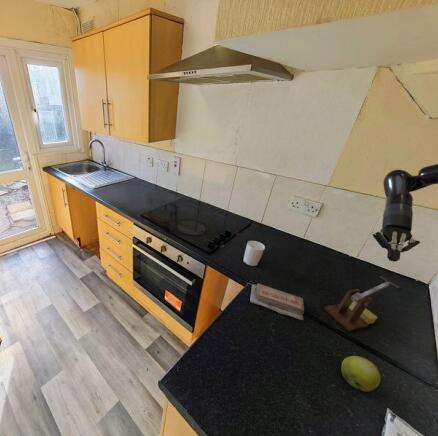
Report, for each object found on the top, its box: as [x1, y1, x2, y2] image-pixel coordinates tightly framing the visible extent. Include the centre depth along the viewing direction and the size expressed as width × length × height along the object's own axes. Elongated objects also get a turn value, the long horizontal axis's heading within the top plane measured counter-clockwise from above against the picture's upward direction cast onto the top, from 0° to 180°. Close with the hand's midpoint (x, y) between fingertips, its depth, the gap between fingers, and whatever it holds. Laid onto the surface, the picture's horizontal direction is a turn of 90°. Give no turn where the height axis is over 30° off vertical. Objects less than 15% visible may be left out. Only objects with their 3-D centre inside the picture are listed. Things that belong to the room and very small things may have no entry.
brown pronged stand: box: [323, 288, 373, 332], centre depth 82 cm, size 9×10×12 cm
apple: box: [340, 355, 382, 393], centre depth 63 cm, size 8×9×8 cm
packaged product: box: [249, 283, 305, 321], centre depth 88 cm, size 18×5×10 cm
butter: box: [349, 302, 378, 325], centre depth 86 cm, size 4×8×3 cm, turn 13°
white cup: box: [243, 240, 266, 267], centre depth 110 cm, size 8×8×10 cm
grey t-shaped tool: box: [351, 274, 403, 304], centre depth 80 cm, size 15×6×2 cm, turn 104°
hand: (393, 260), depth 82 cm, fingers closed
